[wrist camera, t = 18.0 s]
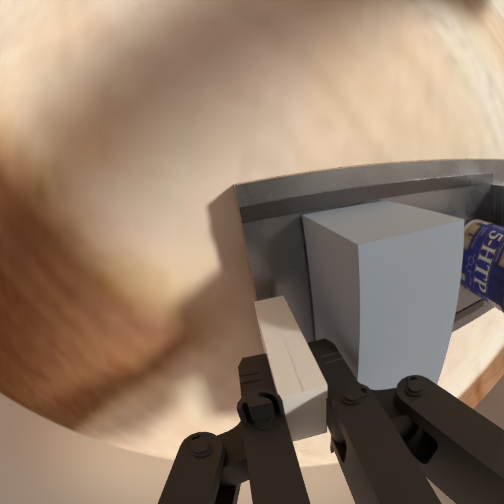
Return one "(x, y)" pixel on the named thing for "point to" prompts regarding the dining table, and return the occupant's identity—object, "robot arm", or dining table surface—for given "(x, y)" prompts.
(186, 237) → the dining table surface
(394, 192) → the vise
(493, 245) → the pill bottle
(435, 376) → the block
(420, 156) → the dining table surface
